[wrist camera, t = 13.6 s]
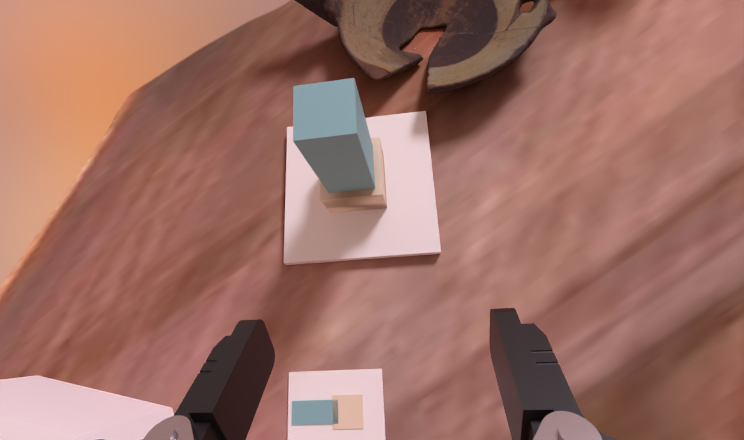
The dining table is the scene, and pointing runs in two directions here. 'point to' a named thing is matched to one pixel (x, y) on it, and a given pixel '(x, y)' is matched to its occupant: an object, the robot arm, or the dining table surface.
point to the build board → (366, 227)
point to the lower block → (360, 198)
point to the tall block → (334, 134)
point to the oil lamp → (455, 47)
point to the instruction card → (336, 405)
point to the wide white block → (72, 412)
